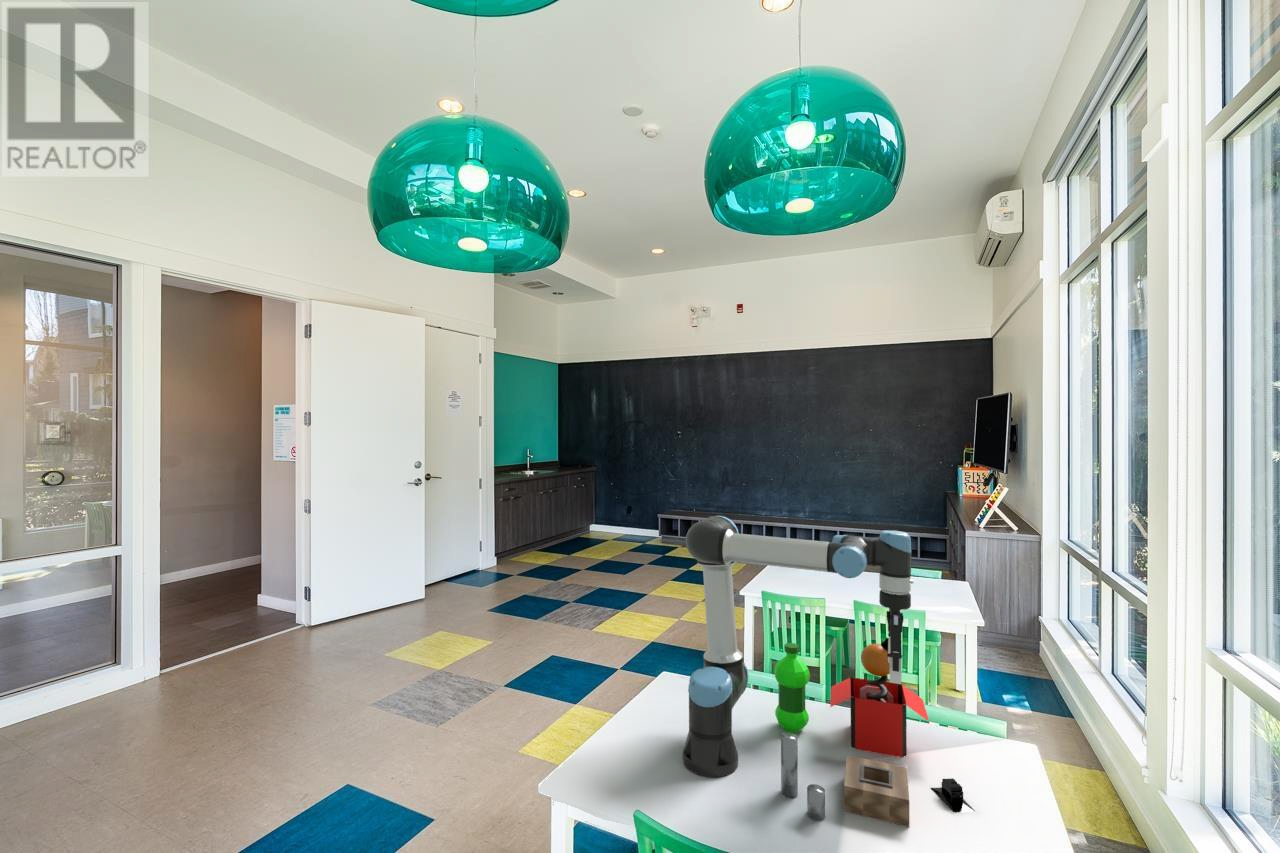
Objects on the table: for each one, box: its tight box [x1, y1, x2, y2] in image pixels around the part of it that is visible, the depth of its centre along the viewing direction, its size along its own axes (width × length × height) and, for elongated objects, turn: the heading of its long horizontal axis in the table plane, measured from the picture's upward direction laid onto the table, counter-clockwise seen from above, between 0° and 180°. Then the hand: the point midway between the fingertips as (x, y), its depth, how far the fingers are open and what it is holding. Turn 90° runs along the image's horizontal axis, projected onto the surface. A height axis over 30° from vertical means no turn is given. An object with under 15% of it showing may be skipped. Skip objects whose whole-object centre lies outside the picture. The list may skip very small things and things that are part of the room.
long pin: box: [780, 731, 799, 799], centre depth 143 cm, size 4×4×14 cm
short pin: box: [806, 783, 826, 822], centre depth 135 cm, size 4×4×6 cm
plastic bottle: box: [773, 642, 811, 733], centre depth 175 cm, size 10×10×25 cm
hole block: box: [843, 755, 910, 828], centre depth 140 cm, size 14×14×6 cm
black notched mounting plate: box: [930, 777, 976, 814], centre depth 141 cm, size 12×7×5 cm, turn 4°
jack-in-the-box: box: [829, 637, 930, 758], centre depth 169 cm, size 26×16×30 cm, turn 71°
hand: (894, 672), depth 151 cm, fingers open, 13 cm apart
